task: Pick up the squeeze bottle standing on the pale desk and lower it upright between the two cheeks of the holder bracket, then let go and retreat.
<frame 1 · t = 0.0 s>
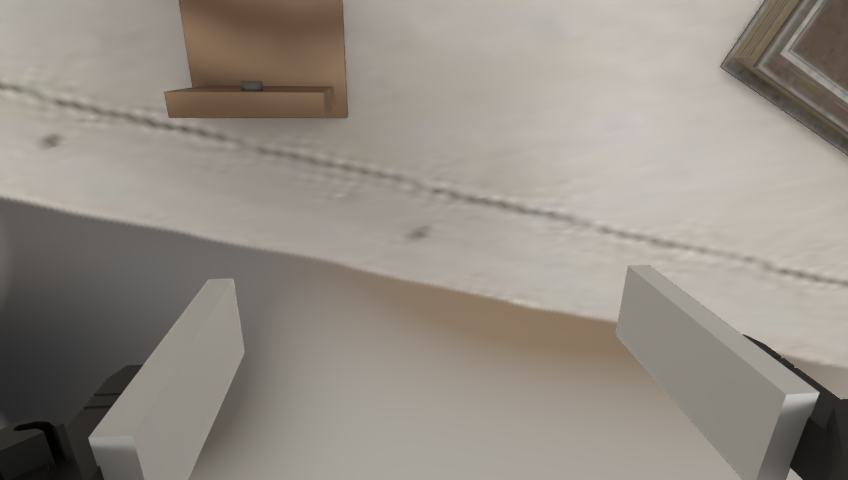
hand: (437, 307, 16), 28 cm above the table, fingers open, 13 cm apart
holder: (265, 11, 37), on the table
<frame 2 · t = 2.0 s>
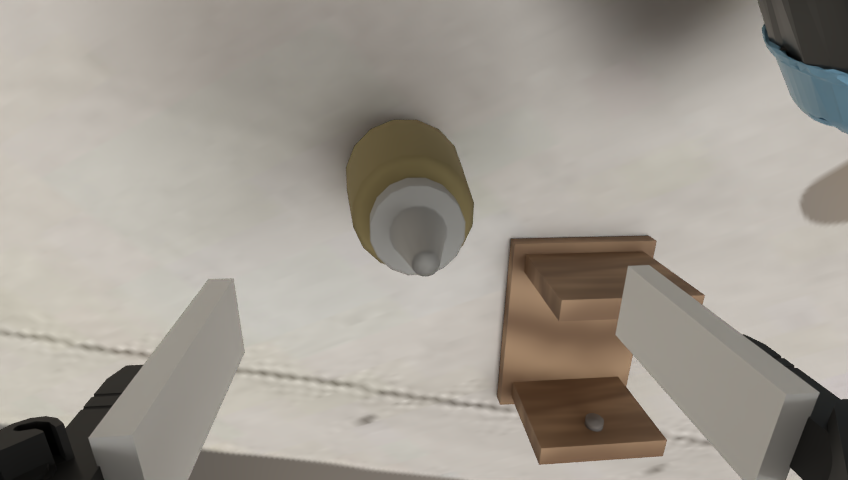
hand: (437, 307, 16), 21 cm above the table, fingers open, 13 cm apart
holder: (568, 320, 42), on the table
squeeze bottle: (401, 166, 36), on the table
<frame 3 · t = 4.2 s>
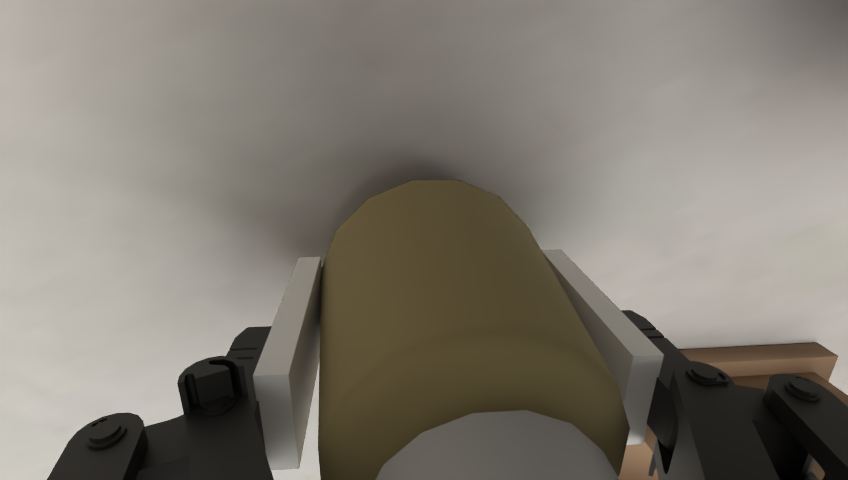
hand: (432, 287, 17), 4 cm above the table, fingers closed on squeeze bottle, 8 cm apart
holder: (678, 465, 27), on the table
squeeze bottle: (422, 247, 21), on the table, touching gripper
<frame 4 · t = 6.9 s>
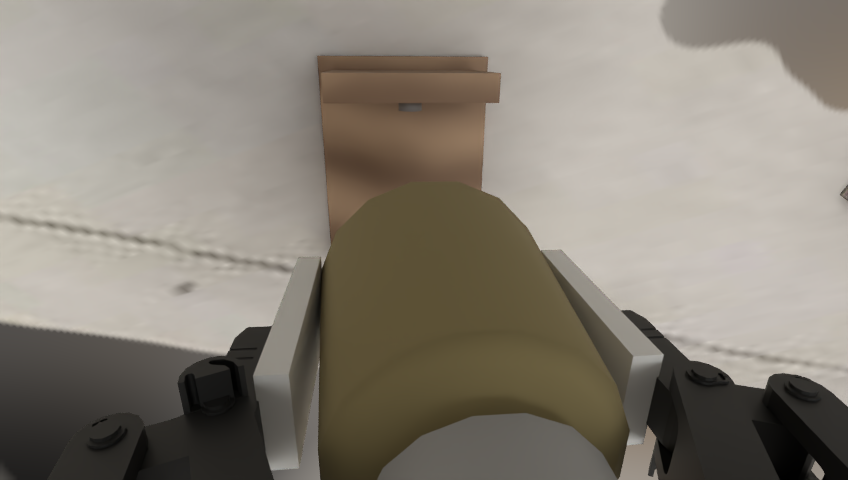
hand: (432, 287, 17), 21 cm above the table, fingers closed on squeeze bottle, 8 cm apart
holder: (404, 165, 37), on the table
squeeze bottle: (422, 248, 21), point 17 cm above the table, touching gripper
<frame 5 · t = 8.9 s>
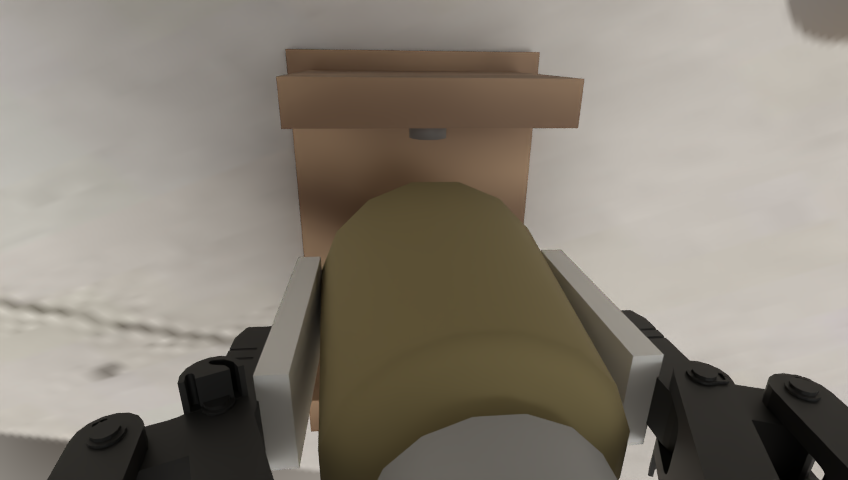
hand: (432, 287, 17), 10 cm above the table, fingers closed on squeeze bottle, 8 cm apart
holder: (413, 205, 26), on the table
squeeze bottle: (422, 248, 21), point 6 cm above the table, touching gripper
when the fingers open (6 cm above the table, at t = 10.1 s): squeeze bottle drops 1 cm, resting on holder.
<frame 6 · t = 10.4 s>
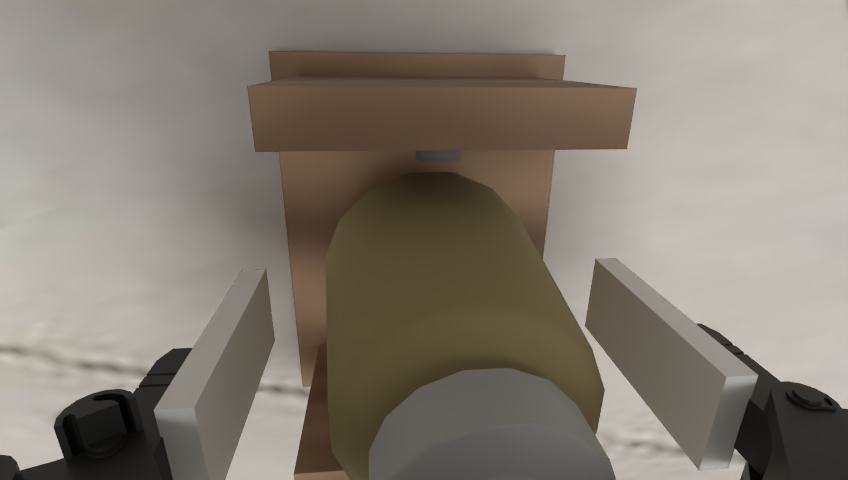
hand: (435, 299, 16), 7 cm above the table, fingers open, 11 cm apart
holder: (417, 229, 23), on the table
squeeze bottle: (420, 236, 22), point 1 cm above the table, touching holder
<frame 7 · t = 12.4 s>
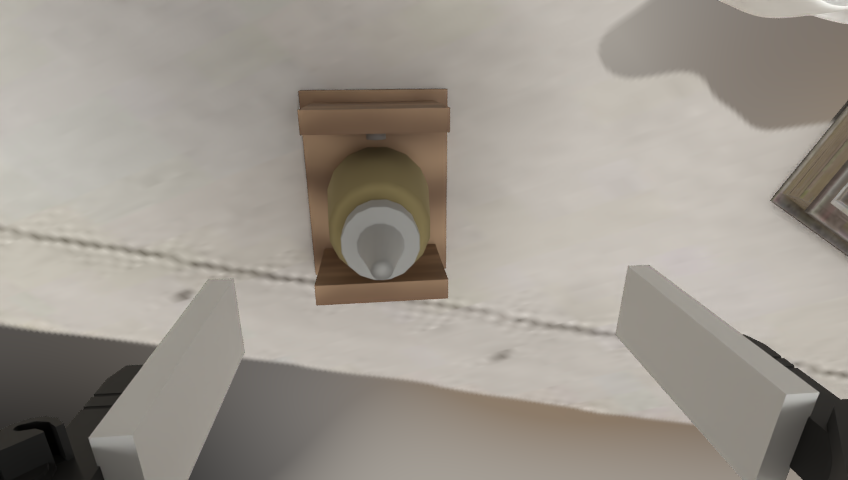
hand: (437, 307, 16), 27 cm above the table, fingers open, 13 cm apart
holder: (377, 183, 42), on the table
squeeze bottle: (378, 186, 41), point 1 cm above the table, touching holder
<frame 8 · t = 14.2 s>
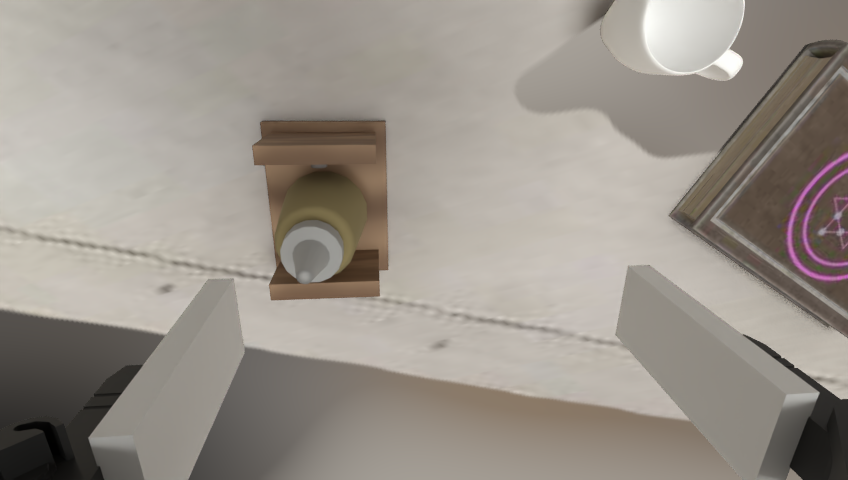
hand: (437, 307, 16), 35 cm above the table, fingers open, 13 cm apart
holder: (329, 198, 49), on the table
book: (815, 199, 56), on the table
mug: (633, 38, 47), on the table
squeeze bottle: (329, 200, 48), point 1 cm above the table, touching holder
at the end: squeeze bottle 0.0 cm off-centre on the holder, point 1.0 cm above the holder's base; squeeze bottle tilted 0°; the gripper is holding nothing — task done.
